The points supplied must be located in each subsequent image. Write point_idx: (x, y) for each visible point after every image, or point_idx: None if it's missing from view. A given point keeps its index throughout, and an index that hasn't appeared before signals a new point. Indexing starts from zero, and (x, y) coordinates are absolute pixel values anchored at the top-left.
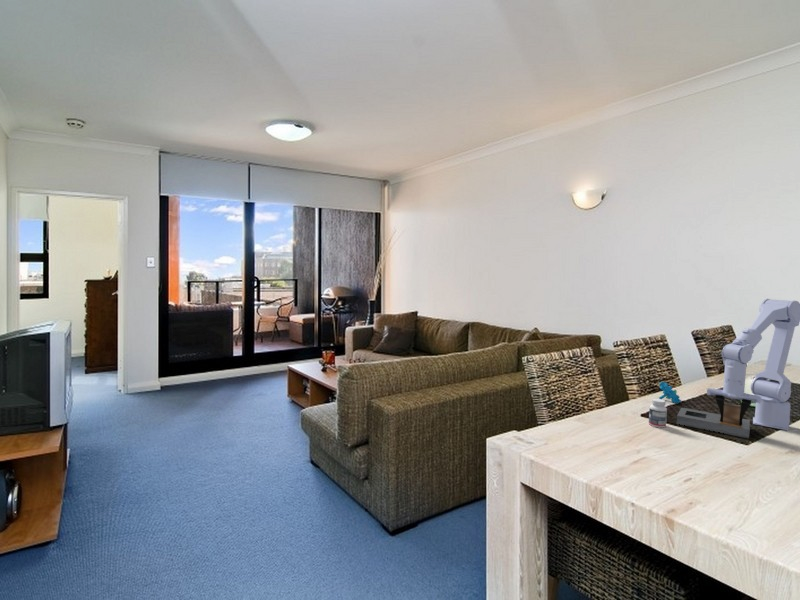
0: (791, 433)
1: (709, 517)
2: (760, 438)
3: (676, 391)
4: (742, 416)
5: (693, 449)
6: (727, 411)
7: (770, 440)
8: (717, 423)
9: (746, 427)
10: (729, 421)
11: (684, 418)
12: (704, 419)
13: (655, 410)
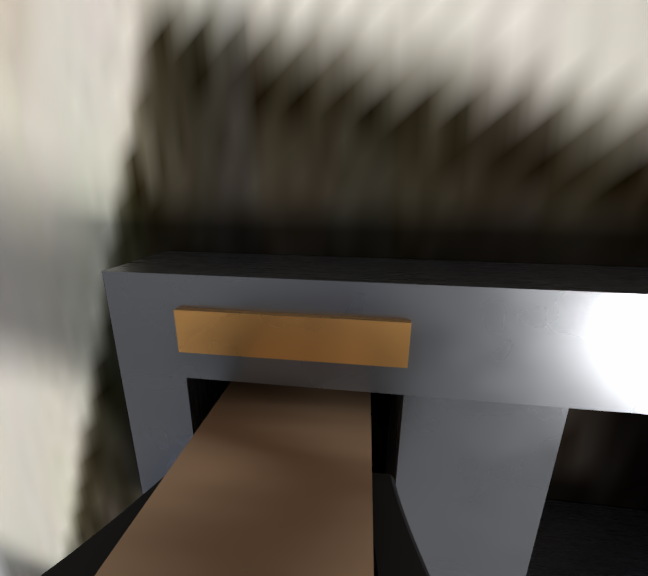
0: (4, 545)
1: None
2: (105, 324)
3: None
4: (135, 505)
5: None
6: (310, 550)
7: (46, 320)
8: (432, 286)
9: (140, 333)
10: (302, 420)
11: None
12: (588, 362)
13: None
